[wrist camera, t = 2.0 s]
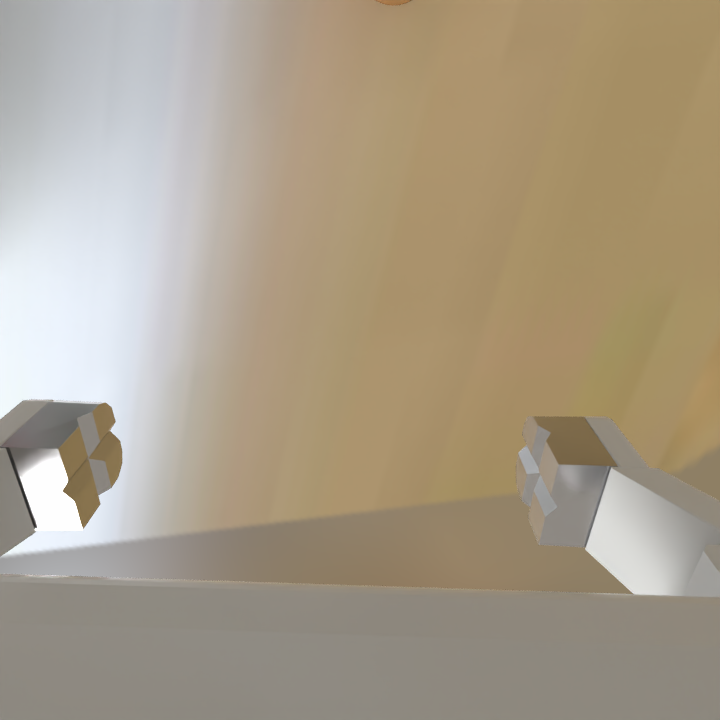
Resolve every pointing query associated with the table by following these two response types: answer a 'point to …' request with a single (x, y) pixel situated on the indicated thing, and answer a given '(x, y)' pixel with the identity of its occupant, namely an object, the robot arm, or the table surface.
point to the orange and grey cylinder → (393, 2)
